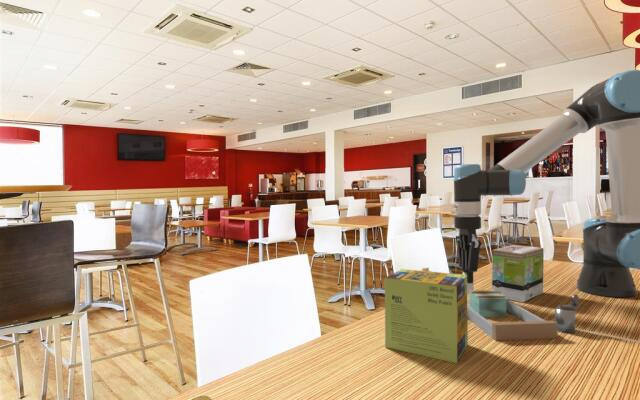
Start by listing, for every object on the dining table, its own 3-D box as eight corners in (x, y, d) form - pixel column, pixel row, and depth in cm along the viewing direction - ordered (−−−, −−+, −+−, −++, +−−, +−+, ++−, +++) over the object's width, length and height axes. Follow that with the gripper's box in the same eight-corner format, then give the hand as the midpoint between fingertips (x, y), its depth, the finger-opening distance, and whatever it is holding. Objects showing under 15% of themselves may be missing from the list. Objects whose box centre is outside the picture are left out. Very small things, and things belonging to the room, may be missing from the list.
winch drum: (571, 326, 92) (571, 292, 92) (583, 332, 88) (583, 297, 88) (551, 327, 92) (551, 293, 92) (562, 333, 88) (562, 298, 88)
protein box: (458, 364, 75) (457, 285, 74) (384, 348, 83) (383, 277, 82) (469, 344, 83) (468, 274, 83) (401, 331, 92) (400, 267, 91)
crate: (495, 308, 107) (495, 289, 107) (506, 317, 100) (506, 296, 100) (469, 309, 108) (469, 289, 107) (478, 317, 101) (478, 296, 100)
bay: (506, 307, 107) (506, 295, 107) (556, 338, 86) (556, 322, 86) (457, 309, 107) (457, 297, 107) (495, 340, 85) (495, 325, 85)
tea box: (525, 303, 111) (525, 253, 110) (491, 296, 118) (490, 249, 118) (544, 293, 121) (544, 246, 120) (511, 287, 128) (511, 243, 128)
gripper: (447, 214, 122) (448, 287, 122) (464, 217, 109) (464, 299, 109) (470, 213, 122) (471, 286, 123) (490, 216, 109) (490, 298, 110)
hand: (468, 292), depth 116 cm, fingers closed
